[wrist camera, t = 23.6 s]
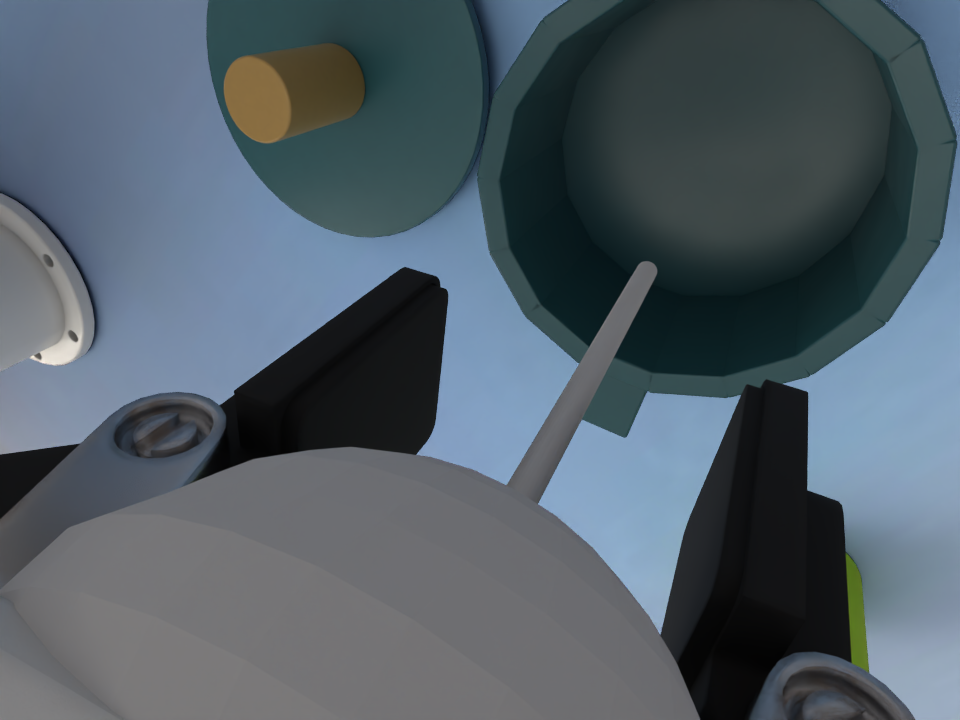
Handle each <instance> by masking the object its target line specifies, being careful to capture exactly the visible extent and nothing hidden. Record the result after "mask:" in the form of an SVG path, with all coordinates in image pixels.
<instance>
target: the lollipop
mask: <svg viewBox="0 0 960 720" xmlns="http://www.w3.org/2000/svg"><path fill="white" fill-rule="evenodd" d="M656 275H657V268H656V266H655V265H654V264H653V263H652V262H649V261H644V262H641V263H640V264H639V265H638V266H637V268H636V270H635V271H634V273H633V275H632V276H631V278H630V280H629V281H628V283H627V285H626V287H625V288H624V290H623V292H622V293H621V295H620V297H619V298H618V300H617V302H616V303H615V305H614V307H613V308H612V310H611V312H610V313H609V315H608V317H607V318H606V320H605V322H604V323H603V325H602V327H601V328H600V330H599V332H598V333H597V335H596V337H595V338H594V340H593V342H592V343H591V345H590V347H589V348H588V350H587V352H586V354H585V355H584V357H583V359H582V360H581V362H580V364H579V365H578V367H577V369H576V370H575V372H574V374H573V375H572V377H571V379H570V380H569V382H568V384H567V385H566V387H565V389H564V390H563V392H562V394H561V395H560V397H559V399H558V400H557V402H556V404H555V405H554V407H553V409H552V410H551V412H550V414H549V415H548V417H547V419H546V420H545V422H544V424H543V426H542V427H541V429H540V431H539V432H538V434H537V436H536V437H535V439H534V441H533V442H532V444H531V446H530V447H529V449H528V451H527V452H526V454H525V456H524V457H523V459H522V461H521V462H520V464H519V466H518V467H517V469H516V471H515V472H514V474H513V476H512V477H511V479H510V481H509V482H508V484H507V485H504V484H502V483H500V482H498V481H496V480H494V479H492V478H489V477H487V476H485V475H483V474H481V473H479V472H477V471H474V470H472V469H469V468H466V467H462V466H459V465H456V464H452V463H449V462H445V461H442V460H439V459H435V458H432V457H427V456H420V455H412V454H405V453H398V452H389V451H381V450H373V449H365V448H357V447H342V448H330V449H318V450H308V451H301V452H295V453H289V454H282V455H276V456H270V457H264V458H257V459H253V460H250V461H247V462H245V463H242V464H239V465H237V466H234V467H231V468H229V469H226V470H223V471H220V472H218V473H215V474H213V475H210V476H208V477H205V478H203V479H201V480H198V481H196V482H193V483H191V484H188V485H186V486H183V487H181V488H178V489H176V490H173V491H171V492H168V493H166V494H163V495H160V496H157V497H154V498H151V499H148V500H145V501H143V502H140V503H137V504H134V505H131V506H128V507H125V508H122V509H119V510H116V511H114V512H111V513H108V514H105V515H102V516H99V517H97V518H94V519H91V520H88V521H85V522H83V523H80V524H77V525H74V526H72V527H69V528H67V529H66V530H65V531H64V532H63V533H62V534H61V535H60V536H59V537H57V538H56V539H55V540H54V541H53V542H52V543H51V544H50V545H49V546H48V547H46V548H45V549H44V550H43V551H42V552H41V553H40V554H39V555H38V556H37V557H35V558H34V559H33V560H32V561H31V562H30V563H29V564H28V565H27V566H26V567H24V568H23V569H22V570H21V571H20V572H19V573H18V574H17V575H16V576H14V577H13V578H12V579H11V580H10V581H9V582H8V583H7V584H6V585H5V586H3V587H2V588H1V589H0V596H2V597H4V598H5V599H7V600H9V601H11V602H12V603H14V606H15V608H16V611H17V612H18V613H19V614H20V616H21V617H22V618H23V619H24V621H25V622H26V623H27V624H28V626H29V627H30V628H31V629H32V631H33V632H34V633H35V634H36V636H37V637H38V638H39V639H40V640H41V642H42V643H43V644H44V646H45V647H46V648H47V650H48V651H49V652H50V654H51V655H52V656H53V657H54V658H55V659H56V660H58V661H59V662H60V663H61V664H62V665H63V666H64V667H65V668H66V669H67V670H68V671H69V672H70V673H72V674H73V675H74V676H75V677H76V678H77V679H78V680H79V681H80V682H81V683H82V684H83V685H84V686H86V687H87V688H88V689H89V690H90V691H91V692H92V693H93V694H94V695H95V696H97V697H98V698H99V699H100V700H101V701H102V702H103V703H104V704H105V705H106V706H108V707H109V708H110V709H111V710H112V711H114V712H115V713H117V714H118V715H119V716H121V717H122V718H124V719H125V720H700V718H699V715H698V713H697V711H696V708H695V706H694V703H693V701H692V699H691V696H690V694H689V691H688V689H687V687H686V684H685V682H684V680H683V677H682V675H681V672H680V670H679V668H678V665H677V663H676V661H675V659H674V657H673V656H672V654H671V652H670V651H669V649H668V647H667V646H666V644H665V642H664V641H663V639H662V637H661V636H660V634H659V632H658V631H657V629H656V627H655V625H654V624H653V622H652V620H651V619H650V617H649V616H648V614H647V613H646V612H645V611H644V609H643V608H642V607H641V605H640V604H639V603H638V602H637V600H636V599H635V598H634V597H633V595H632V594H631V593H630V591H629V590H628V589H627V588H626V586H625V585H624V584H623V583H622V581H621V580H620V579H619V578H618V577H617V576H616V574H615V573H614V572H613V571H612V570H611V569H610V567H609V566H608V565H607V564H606V563H605V562H604V560H603V559H602V558H601V557H600V556H599V555H598V553H597V552H596V551H595V550H594V549H593V548H592V547H591V546H590V545H589V544H588V543H587V542H586V541H584V540H583V539H582V538H581V537H580V536H579V535H577V534H576V533H575V532H574V531H573V530H572V529H571V528H569V527H568V526H567V525H566V524H565V523H564V522H562V521H561V520H560V519H559V518H558V517H557V516H555V515H554V514H552V513H551V512H549V511H548V510H546V509H544V508H543V507H541V506H540V505H538V503H539V501H540V499H541V497H542V495H543V493H544V491H545V489H546V487H547V485H548V483H549V481H550V479H551V478H552V476H553V474H554V472H555V470H556V468H557V466H558V464H559V462H560V460H561V458H562V456H563V454H564V452H565V450H566V449H567V447H568V445H569V443H570V441H571V439H572V437H573V435H574V433H575V431H576V429H577V427H578V425H579V423H580V422H581V420H582V418H583V416H584V414H585V412H586V410H587V408H588V406H589V404H590V402H591V400H592V398H593V396H594V395H595V393H596V391H597V389H598V387H599V385H600V383H601V381H602V379H603V377H604V375H605V373H606V371H607V369H608V368H609V366H610V364H611V362H612V360H613V358H614V356H615V354H616V352H617V350H618V348H619V346H620V344H621V342H622V341H623V339H624V337H625V335H626V333H627V331H628V329H629V327H630V325H631V323H632V321H633V319H634V317H635V315H636V314H637V312H638V310H639V308H640V306H641V304H642V302H643V300H644V298H645V296H646V294H647V292H648V290H649V288H650V286H651V285H652V283H653V281H654V279H655V277H656Z"/></svg>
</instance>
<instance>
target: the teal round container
mask: <svg viewBox="0 0 960 720" xmlns="http://www.w3.org/2000/svg"><path fill="white" fill-rule="evenodd" d="M956 138H957V135H956V132H955V129H954V126H953V123H952V120H951V118H950V115H949V112H948V109H947V106H946V103H945V100H944V97H943V94H942V91H941V89H940V86H939V83H938V80H937V77H936V74H935V71H934V68H933V65H932V62H931V60H930V57H929V54H928V51H927V48H926V45H925V42H924V41H923V40H922V39H921V36H920V35H919V34H918V33H917V32H916V31H915V30H914V29H913V28H911V27H910V26H909V25H908V24H907V23H906V22H905V21H904V20H902V19H901V18H900V17H899V16H898V15H897V14H896V13H895V12H893V11H892V10H891V9H890V8H889V7H888V6H887V5H886V4H885V3H883V2H882V1H881V0H568V1H567V2H565V3H564V4H562V5H561V6H559V7H558V8H557V9H555V10H554V11H552V12H551V13H550V14H548V15H547V16H545V17H544V18H543V20H542V21H541V22H540V23H539V25H538V26H537V28H536V29H535V31H534V32H533V34H532V36H531V37H530V39H529V40H528V42H527V43H526V45H525V47H524V48H523V50H522V51H521V53H520V54H519V56H518V57H517V59H516V61H515V62H514V64H513V65H512V67H511V68H510V70H509V71H508V73H507V75H506V76H505V78H504V79H503V81H502V82H501V84H500V86H499V87H498V89H497V90H496V92H495V93H494V97H493V99H492V104H491V109H490V114H489V118H488V123H487V128H486V133H485V138H484V143H483V148H482V153H481V158H480V163H479V168H478V173H477V176H478V179H477V181H478V187H479V193H480V199H481V205H482V211H483V217H484V224H485V230H486V236H487V242H488V248H489V251H490V255H491V257H492V259H493V260H494V262H495V264H496V266H497V267H498V269H499V271H500V273H501V275H502V276H503V278H504V280H505V282H506V283H507V285H508V287H509V289H510V291H511V292H512V294H513V296H514V298H515V299H516V301H517V303H518V305H519V306H520V308H521V310H522V312H523V314H524V315H525V317H526V318H527V319H529V320H530V321H531V322H532V323H533V324H534V325H535V326H537V327H538V328H539V329H540V330H541V331H542V332H543V333H545V334H546V335H547V336H548V337H549V338H550V339H551V340H553V341H554V342H555V343H556V344H557V345H558V346H559V347H561V348H562V349H563V350H564V351H565V352H566V353H567V354H569V355H570V356H571V357H572V358H573V359H574V360H575V361H577V362H578V363H580V362H581V360H582V359H583V357H584V355H585V354H586V352H587V350H588V348H589V347H590V345H591V343H592V342H593V340H594V338H595V337H596V335H597V333H598V332H599V330H600V328H601V327H602V325H603V323H604V322H605V320H606V318H607V317H608V315H609V313H610V312H611V310H612V308H613V307H614V305H615V303H616V302H617V300H618V298H619V297H620V295H621V293H622V292H623V290H624V288H625V287H626V285H627V283H628V281H629V280H630V278H631V276H632V275H633V273H634V271H635V270H636V268H637V266H638V265H639V264H640V263H641V262H644V261H649V262H652V263H653V264H654V265H655V266H656V268H657V275H656V277H655V279H654V281H653V283H652V285H651V286H650V288H649V290H648V292H647V294H646V296H645V298H644V300H643V302H642V304H641V306H640V308H639V310H638V312H637V314H636V315H635V317H634V319H633V321H632V323H631V325H630V327H629V329H628V331H627V333H626V335H625V337H624V339H623V341H622V342H621V344H620V346H619V348H618V350H617V352H616V354H615V356H614V358H613V360H612V362H611V364H610V366H609V368H608V369H607V371H606V373H605V375H604V377H603V379H602V381H601V383H600V385H599V387H598V389H597V391H596V393H595V395H594V396H593V398H592V400H591V402H590V404H589V406H588V408H587V410H586V412H585V414H584V416H583V418H582V420H585V421H587V422H589V423H592V424H594V425H596V426H599V427H601V428H603V429H605V430H608V431H610V432H612V433H615V434H617V435H619V436H622V437H624V438H625V437H627V435H628V433H629V431H630V429H631V426H632V424H633V422H634V420H635V417H636V415H637V413H638V411H639V408H640V406H641V404H642V402H643V399H644V397H645V395H646V393H647V391H649V392H650V393H662V394H677V395H691V396H706V397H720V398H728V397H733V396H737V395H741V394H742V392H743V390H744V388H745V386H746V385H747V384H749V385H752V386H756V387H759V388H761V386H762V384H763V382H764V381H765V380H766V379H767V380H771V381H774V382H777V383H780V384H783V383H787V382H791V381H794V380H798V379H802V378H806V377H809V376H810V374H811V375H812V374H814V373H816V372H817V371H819V370H820V369H822V368H823V367H824V366H826V365H827V364H829V363H830V362H832V361H833V360H835V359H836V358H838V357H839V356H840V355H842V354H843V353H845V352H846V351H848V350H849V349H851V348H852V347H854V346H855V345H856V344H858V343H859V342H861V341H862V340H864V339H865V338H867V337H868V336H870V335H871V334H872V333H874V332H875V331H877V330H878V329H880V328H881V327H883V326H884V325H885V324H886V322H888V321H889V320H890V319H891V317H892V316H893V314H894V313H895V311H896V309H897V308H898V306H899V305H900V303H901V302H902V300H903V299H904V297H905V296H906V294H907V293H908V291H909V290H910V288H911V287H912V285H913V284H914V282H915V281H916V279H917V278H918V276H919V275H920V273H921V272H922V270H923V269H924V267H925V266H926V264H927V263H928V261H929V260H930V258H931V257H932V255H933V254H934V252H935V251H936V249H937V248H938V246H939V245H940V240H941V239H942V238H943V232H944V225H945V219H946V212H947V206H948V199H949V193H950V187H951V180H952V174H953V167H954V161H955V154H956V148H957V141H956Z"/></svg>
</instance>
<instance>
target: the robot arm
mask: <svg viewBox="0 0 960 720" xmlns="http://www.w3.org/2000/svg"><path fill="white" fill-rule="evenodd" d="M447 306H448V291H447V290H446V289H444V288H441V287H440V281H439V279H438V277H436V276H433V275H429V274H426V273H423V272H420V271H417V270H413V269H410V268H406V267H404V268H402V269H400V270H398V271H397V272H396V273H394V274H393V275H392V276H390V277H389V278H388V279H386V280H385V281H383V282H382V283H381V284H379V285H378V286H377V287H375V288H374V289H373V290H371V291H370V292H368V293H367V294H366V295H364V296H363V297H362V298H360V299H359V300H357V301H356V302H355V303H353V304H352V305H351V306H349V307H348V308H347V309H345V310H344V311H342V312H341V313H340V314H338V315H337V316H336V317H334V318H333V319H332V320H330V321H329V322H327V323H326V324H325V325H323V326H322V327H321V328H319V329H318V330H316V331H315V332H314V333H312V334H311V335H310V336H308V337H307V338H306V339H304V340H303V341H301V342H300V343H299V344H297V345H296V346H295V347H293V348H292V349H290V350H289V351H288V352H286V353H285V354H284V355H282V356H281V357H280V358H278V359H277V360H275V361H274V362H273V363H271V364H270V365H269V366H267V367H266V368H265V369H263V370H262V371H260V372H259V373H258V374H256V375H255V376H254V377H252V378H251V379H249V380H248V381H247V382H245V383H244V384H243V385H241V386H240V387H239V388H237V389H236V390H234V395H233V396H232V397H231V398H229V399H228V400H227V401H225V402H224V403H222V404H221V405H218V404H217V403H215V402H214V401H213V400H211V399H210V398H207V397H204V396H201V395H198V394H193V393H183V392H172V393H159V394H155V395H151V396H147V397H143V398H140V399H138V400H135V401H133V402H131V403H129V404H126V405H124V406H123V407H121V408H120V409H119V410H117V411H116V412H114V413H113V414H112V415H110V416H109V417H108V418H107V419H106V420H105V421H104V422H103V423H102V424H101V425H100V426H99V427H98V428H96V429H95V430H94V431H93V432H92V433H91V434H90V435H89V436H88V437H87V438H86V439H85V440H84V441H83V442H82V443H81V444H74V445H67V446H60V447H53V448H45V449H38V450H31V451H24V452H16V453H9V454H2V455H0V589H1V588H2V587H3V586H5V585H6V584H7V583H8V582H9V581H10V580H11V579H12V578H13V577H14V576H16V575H17V574H18V573H19V572H20V571H21V570H22V569H23V568H24V567H26V566H27V565H28V564H29V563H30V562H31V561H32V560H33V559H34V558H35V557H37V556H38V555H39V554H40V553H41V552H42V551H43V550H44V549H45V548H46V547H48V546H49V545H50V544H51V543H52V542H53V541H54V540H55V539H56V538H57V537H59V536H60V535H61V534H62V533H63V532H64V531H65V530H66V529H67V528H69V527H72V526H74V525H77V524H80V523H83V522H85V521H88V520H91V519H94V518H97V517H99V516H102V515H105V514H108V513H111V512H114V511H116V510H119V509H122V508H125V507H128V506H131V505H134V504H137V503H140V502H143V501H145V500H148V499H151V498H154V497H157V496H160V495H163V494H166V493H168V492H171V491H173V490H176V489H178V488H181V487H183V486H186V485H188V484H191V483H193V482H196V481H198V480H201V479H203V478H205V477H208V476H210V475H213V474H215V473H218V472H220V471H223V470H226V469H229V468H231V467H234V466H237V465H239V464H242V463H245V462H247V461H250V460H253V459H257V458H264V457H270V456H276V455H282V454H289V453H295V452H301V451H308V450H318V449H330V448H342V447H357V448H365V449H373V450H381V451H389V452H398V453H405V454H412V455H416V454H417V453H418V452H419V450H420V449H421V448H422V447H423V445H424V444H425V443H426V442H427V440H428V439H429V437H430V435H431V433H432V431H433V429H434V425H435V421H436V412H437V403H438V393H439V383H440V374H441V364H442V354H443V344H444V335H445V325H446V315H447ZM94 324H95V320H94V314H93V307H92V303H91V300H90V297H89V294H88V290H87V288H86V286H85V283H84V281H83V279H82V277H81V274H80V272H79V271H78V269H77V267H76V265H75V264H74V262H73V260H72V258H71V257H70V255H69V254H68V252H67V251H66V250H65V248H64V247H63V245H62V244H61V243H60V241H59V240H58V239H57V237H56V236H55V235H54V234H53V233H52V232H51V231H50V229H49V228H48V227H47V226H46V225H45V224H44V223H43V222H42V221H41V220H40V219H39V218H38V217H36V216H35V215H34V214H33V213H32V212H31V211H30V210H28V209H27V208H25V207H24V206H23V205H21V204H20V203H19V202H17V201H15V200H13V199H12V198H10V197H8V196H6V195H4V194H2V193H0V372H1V371H3V370H5V369H7V368H9V367H11V366H13V365H15V364H17V363H19V362H21V361H23V360H25V359H27V358H31V359H33V360H36V361H38V362H41V363H43V364H48V365H54V366H58V365H66V364H68V363H70V362H72V361H74V360H76V359H78V358H80V357H81V356H83V355H84V354H86V353H87V351H88V350H89V348H90V347H91V345H92V341H93V337H94ZM807 458H808V392H806V391H803V390H800V389H796V388H793V387H790V386H787V385H784V384H780V383H777V382H774V381H771V380H767V379H766V380H765V381H764V382H763V384H762V386H761V388H759V387H756V386H752V385H749V384H747V385H746V386H745V388H744V390H743V392H742V394H741V397H740V399H739V402H738V404H737V406H736V409H735V411H734V413H733V416H732V418H731V420H730V423H729V425H728V428H727V430H726V432H725V435H724V437H723V439H722V442H721V444H720V447H719V449H718V451H717V454H716V456H715V458H714V461H713V463H712V466H711V468H710V470H709V473H708V475H707V477H706V480H705V482H704V484H703V487H702V489H701V492H700V494H699V496H698V499H697V501H696V503H695V506H694V508H693V511H692V513H691V515H690V518H689V520H688V523H687V526H686V529H685V532H684V536H683V540H682V544H681V548H680V553H679V557H678V561H677V566H676V570H675V575H674V579H673V583H672V588H671V592H670V596H669V601H668V605H667V610H666V614H665V618H664V623H663V627H662V632H661V637H662V639H663V641H664V642H665V644H666V646H667V647H668V649H669V651H670V652H671V654H672V656H673V657H674V659H675V661H676V663H677V665H678V668H679V670H680V672H681V675H682V677H683V680H684V682H685V684H686V687H687V689H688V691H689V694H690V696H691V699H692V701H693V703H694V706H695V708H696V711H697V713H698V715H699V718H700V720H915V718H914V717H913V715H912V714H911V712H910V711H909V709H908V708H907V707H906V705H905V704H904V703H903V702H902V701H901V700H900V699H899V698H898V697H897V696H896V695H895V694H894V693H893V692H892V691H891V690H890V689H889V688H888V687H887V686H886V685H885V684H883V683H882V682H881V681H879V680H878V679H876V678H875V677H874V676H872V675H871V674H870V673H868V672H867V671H865V670H864V669H863V668H861V667H858V666H856V665H854V664H852V658H851V640H850V622H849V604H848V586H847V568H846V551H845V533H844V515H843V509H842V505H841V504H840V503H839V501H836V500H833V499H830V498H827V497H824V496H822V495H819V494H816V493H813V492H810V491H807ZM0 720H125V719H124V718H122V717H121V716H119V715H118V714H117V713H115V712H114V711H112V710H111V709H110V708H109V707H108V706H106V705H105V704H104V703H103V702H102V701H101V700H100V699H99V698H98V697H97V696H95V695H94V694H93V693H92V692H91V691H90V690H89V689H88V688H87V687H86V686H84V685H83V684H82V683H81V682H80V681H79V680H78V679H77V678H76V677H75V676H74V675H73V674H72V673H70V672H69V671H68V670H67V669H66V668H65V667H64V666H63V665H62V664H61V663H60V662H59V661H58V660H56V659H55V658H54V657H53V656H52V655H51V654H50V652H49V651H48V650H47V648H46V647H45V646H44V644H43V643H42V642H41V640H40V639H39V638H38V637H37V636H36V634H35V633H34V632H33V631H32V629H31V628H30V627H29V626H28V624H27V623H26V622H25V621H24V619H23V618H22V617H21V616H20V614H19V613H18V612H17V611H16V608H15V606H14V603H12V602H11V601H9V600H7V599H5V598H4V597H2V596H0Z"/></svg>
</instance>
